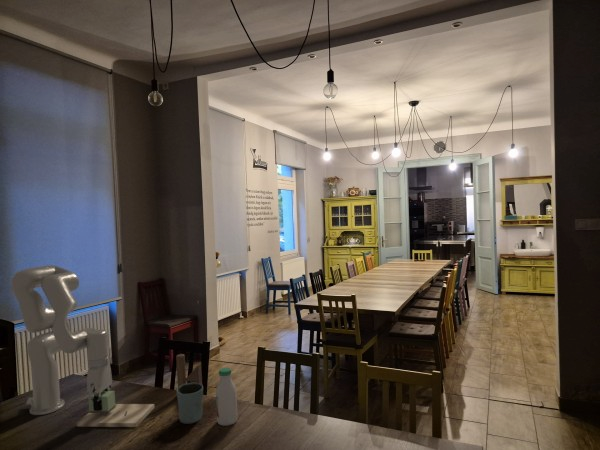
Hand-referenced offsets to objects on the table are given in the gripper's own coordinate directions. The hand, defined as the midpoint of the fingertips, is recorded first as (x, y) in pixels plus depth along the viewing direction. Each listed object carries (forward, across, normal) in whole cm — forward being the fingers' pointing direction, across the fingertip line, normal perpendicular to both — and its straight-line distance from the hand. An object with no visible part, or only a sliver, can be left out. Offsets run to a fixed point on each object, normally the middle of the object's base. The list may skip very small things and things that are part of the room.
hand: (102, 406), depth 162 cm
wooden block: (+5, -19, +29) cm, 35 cm away
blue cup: (+5, 0, +37) cm, 37 cm away
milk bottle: (+5, +2, +52) cm, 52 cm away
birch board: (+5, -1, +6) cm, 7 cm away
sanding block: (+1, 0, 0) cm, 1 cm away
